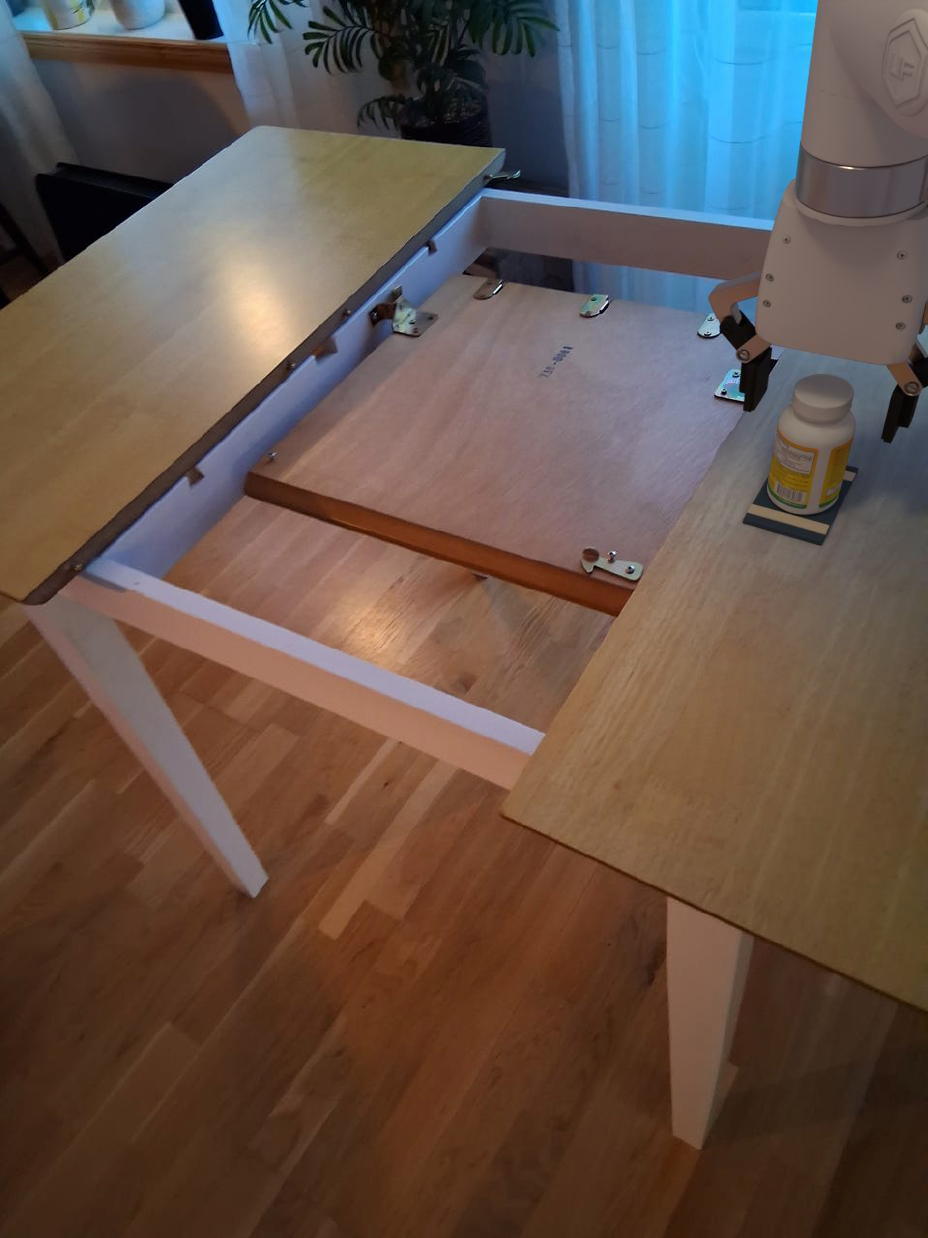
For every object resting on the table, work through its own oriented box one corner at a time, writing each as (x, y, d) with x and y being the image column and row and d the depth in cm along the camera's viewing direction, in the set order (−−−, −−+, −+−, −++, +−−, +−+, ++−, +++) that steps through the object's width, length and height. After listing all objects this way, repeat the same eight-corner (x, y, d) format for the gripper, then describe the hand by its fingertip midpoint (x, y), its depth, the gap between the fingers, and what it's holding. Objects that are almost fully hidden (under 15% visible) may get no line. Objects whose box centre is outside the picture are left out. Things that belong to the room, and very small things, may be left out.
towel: (857, 471, 73) (859, 466, 73) (820, 545, 69) (821, 540, 68) (783, 452, 76) (783, 448, 75) (742, 523, 71) (743, 518, 71)
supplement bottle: (774, 519, 70) (791, 416, 63) (760, 474, 74) (775, 371, 67) (847, 513, 70) (873, 409, 63) (829, 468, 73) (852, 364, 66)
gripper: (1045, 158, 51) (964, 412, 64) (742, 132, 59) (724, 363, 71) (1016, 221, 47) (936, 477, 60) (696, 184, 55) (685, 419, 68)
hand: (821, 415), depth 66 cm, fingers open, 9 cm apart
